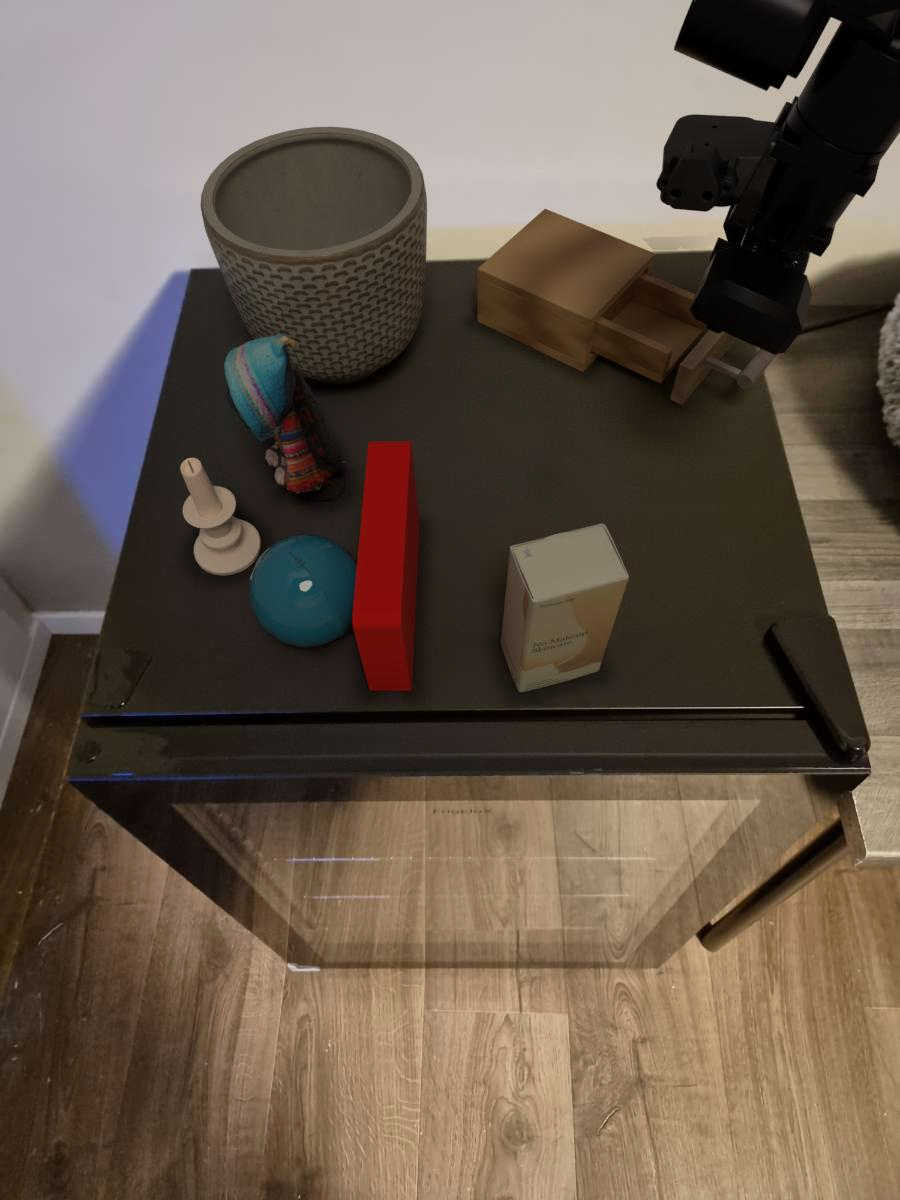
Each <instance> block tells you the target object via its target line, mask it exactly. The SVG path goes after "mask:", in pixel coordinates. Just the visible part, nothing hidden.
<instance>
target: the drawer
mask: <svg viewBox="0 0 900 1200" xmlns="http://www.w3.org/2000/svg"><path fill="white" fill-rule="evenodd" d="M695 294H696V293H693V292H691V291H688V290H686V289H683V288H681V287H678V286H676V285H673V284H672V283H669V282H666V281H664V280H662V279H660V278H657V277H654V276H652V275H648V274H645V273H642V274H641V275H640V276H639V277H638V278H637V279H636V280H635V281H634V282H633V283H632V284H631V285H630V286H629V287H628V288H627V289H626V290H625V291H624V293H623V294H622V295H621V296H620V297H619V298H618V299H617V300H616V301H615V302H614V303H613V304H612V305H611V306H610V307H609V308H608V309H607V310H606V311H605V312H604V313H603V314H602V315H601V316H600V317H599V318H598V319H597V320H596V322H595V325H594V331H593V338H592V344H591V351H592V352H594V353H596V354H598V355H599V356H601V357H603V358H605V359H607V360H609V361H611V362H613V363H615V364H617V365H620V366H621V367H624V368H626V369H628V370H631V371H633V372H634V373H637V374H639V375H640V376H643V377H645V378H648V379H649V380H652V381H654V382H655V383H658V384H663V382H664V381H665V379H666V378H667V377H669V375H670V373H672V372H673V370H674V369H675V368H676V367H677V365H679V366H678V369H677V371H676V372H677V373H676V376H675V380H674V383H673V386H672V391H671V394H670V397H669V400H671V401H673V402H675V403H677V404H679V405H684V403H685V402H686V401H687V400H688V398H689V397H690V396H691V395H692V394H693V392H694V391H695V390H696V389H697V388H698V386H700V384H701V383H702V382H703V380H705V378H706V377H707V376H708V375H709V373H710V372H711V371H712V370H714V371H716V372H719V373H721V374H723V375H726V376H727V377H730V378H732V379H734V380H736V384H737V386H738V387H739V388H741V389H743V390H750V389H752V387H753V386H754V385H755V383H756V382H757V381H758V380H759V379H760V377H761V376H762V375H763V373H764V372H765V371H766V370H767V368H768V367H769V366H770V364H771V363H772V362H773V360H774V359H775V358H776V357H777V355H778V354H776V355H774V354H772V353H769V352H767V351H765V350H763V349H760V348H758V350H757V352H756V353H754V356H753V357H752V358H751V359H750V361H748V363H747V364H746V366H745V367H744V368H743V369H739V368H737V367H735V366H732V365H730V364H728V363H726V362H724V361H722V360H720V359H721V358H722V357H723V356H725V354H726V352H728V350H729V349H730V347H731V346H732V345H733V344H734V343H735V340H736V339H737V338H736V337H734V336H732V335H729V334H727V333H725V332H721V333H715V332H713V331H711V330H709V329H708V330H707V327H706V325H707V324H705V323H703V322H701V321H698V320H696V319H695V317H694V316H693V314H692V313H691V311H690V307H691V304H692V302H693V299H694V297H695ZM706 331H707V332H706ZM739 340H741V339H739ZM741 341H742V342H744V341H743V340H741ZM689 351H690V352H689ZM688 352H689V353H688ZM684 357H685V358H684Z"/></svg>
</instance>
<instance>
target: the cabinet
mask: <svg viewBox="0 0 900 1200" xmlns="http://www.w3.org/2000/svg"><path fill="white" fill-rule="evenodd" d="M655 255H656V253H655V252H652V251H650V250H648V249H645V248H643V247H640V246H637V245H635V244H633V243H631V242H628V241H626V240H624V239H622V238H621V239H620V238H618V237H615V236H613V235H611V234H608V233H606V232H604V231H601V230H599V229H596V228H594V227H591V226H589V225H587V224H584V223H582V222H580V221H577V220H574V219H572V218H570V217H567V216H565V215H562V214H560V213H557V212H554V211H553V210H549V209H547V208H544V209H542V210H541V211H540V212H539V213H538V214H537V215H536V216H535V217H534V218H532V219H531V220H530V221H529V222H527V224H526V225H525V226H523V227H522V228H521V229H520V230H519V231H518V232H517V233H516V234H515V235H513V236H512V237H511V238H510V239H509V240H508V241H506V243H504V244H503V246H501V247H500V248H499V249H498V250H497V251H495V253H493V254H491V256H490V257H488V258H487V259H486V261H484V262H483V263H481V265H480V266H478V267H477V277H476V281H477V283H476V284H477V285H476V286H477V289H476V290H477V291H476V292H477V293H476V299H477V300H476V302H477V304H476V305H477V306H476V307H477V310H476V312H477V315H476V317H477V319H476V320H477V323H479V324H482V325H484V326H486V327H488V328H490V329H492V330H494V331H496V332H498V333H500V334H503V335H504V336H507V337H509V338H511V339H513V340H515V341H517V342H519V343H522V344H523V345H525V346H526V347H527V346H528V347H530V348H531V349H533V350H536V351H538V352H539V353H541V354H545V355H546V356H548V357H550V358H553V359H555V360H557V361H558V362H561V363H562V364H565V365H567V366H569V367H571V368H573V369H575V370H577V371H579V372H581V373H584V372H585V371H586V370H587V369H588V368H589V366H590V365H591V364H592V363H593V362H594V361H595V360H596V359H597V358H598V357H599V356H600V355H598V354H596V353H594V352H592V351H591V344H592V338H593V331H594V325H595V322H596V320H597V319H598V318H599V317H600V316H601V315H602V314H603V313H604V312H605V311H606V310H607V309H608V308H609V307H610V306H611V305H612V304H613V303H614V302H615V301H616V300H617V299H618V298H619V297H620V296H621V295H622V294H623V293H624V291H625V290H626V289H627V288H628V287H629V286H630V285H631V284H632V283H633V282H634V281H635V280H636V279H637V278H638V277H639V276H640V275H641V274H642V273H645V274H648V275H650V276H652V270H653V264H654V260H655Z"/></svg>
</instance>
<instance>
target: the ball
mask: <svg viewBox="0 0 900 1200" xmlns="http://www.w3.org/2000/svg"><path fill="white" fill-rule="evenodd" d="M356 572H357V562H356V560H355V559H354V557H353V556H352V554H351V553H350V552H349V550H348V549H347V548H346V547H344V546H343V545H341V544H339V543H338V542H336V541H335V540H333V539H331V538H329V537H327V536H323V535H320V534H319V535H318V534H313V533H301V534H294V535H289V536H286V537H285V538H283V539H280V540H278V541H276V542H274V543H272V544H271V545H269V547H268V548H267V549H266V550H265V551H264V552H263V553H262V554H261V555H259V556H258V558H257V561H256V563H255V565H254V567H253V570H252V572H251V574H250V576H249V583H248V586H249V588H248V590H249V591H248V592H249V604H250V608H251V610H252V612H253V614H254V616H255V618H256V619H257V621H258V623H259V624H260V626H261V628H262V629H263V630H264V631H265V632H266V633H268V634H269V635H271V636H272V637H274V638H275V639H277V640H278V641H280V642H281V643H283V644H285V645H289V646H295V647H299V648H304V649H305V648H306V649H307V648H313V647H321V646H326V645H327V644H329V643H331V642H333V641H335V640H337V639H338V638H340V637H343V636H344V635H345V633H346V632H347V631H348V630H349V629H350V628H351V626H353V605H354V594H355V583H356Z"/></svg>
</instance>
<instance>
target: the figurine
mask: <svg viewBox="0 0 900 1200" xmlns="http://www.w3.org/2000/svg"><path fill="white" fill-rule="evenodd" d="M288 347H297V346H296V343H295V340H292V339H290V338H288V337H286V336H285V335H282V334H277V335H275V336H271V337H261V338H258V339H255V340H253V339H252V340H249V341H247V342H245V343H242V344H241V345H239V346H235V347H234V348H232V349H231V350H230V351H229V352H228V353H227V355H226V357H225V360H224V362H223V368H224V369H223V370H224V375H225V379H226V386H227V392H226V394H224V395H225V397H226V399H227V401H228V404H229V408H231V409H233V410H234V412H235V413H236V414H237V417H238V418H239V419H240V421H241V422H242V424H243V425H244V427H245V429H248V430H249V429H250V430H251V433H252V434H253V435H254V436H255V438H256V439H257V440H258V441H259V442H263V441H265V440H267V439H270V438H273V439H274V440H275V441H274V444H273V445H272V446H270V447H268V448H267V450H266V451H265V457H264V458H265V460H266V462H267V464H268V467H270V468H273V469H275V472H274V480H275V482H276V484H277V486H278V487H280V488H282V489H286V490H287V491H288V492H290V493H296V494H297V495H298V494H301V497H303V498H308V497H310V498H311V499H313V500H315V501H319V502H328V501H336V500H339V499H341V498H342V496H343V495H344V494H345V476H344V475H345V473H346V472H345V469H344V467H343V463H345V461H342V460H341V458H340V456H339V453H338V450H337V448H336V447H335V445H334V444H335V443H334V440H333V439H332V436H331V433H330V431H329V427H328V423H327V420H326V418H325V415H324V413H323V411H322V409H321V407H320V404H319V402H318V401H317V399H316V397H315V394H314V393H313V390H312V388H311V387H310V385H309V384H308V383H307V381H306V379H305V377H303V375H302V373H301V371H300V369H299V368H298V367H297V366H294V368H293V369H292V366H291V362H290V358H289V354H288V352H287V348H288Z"/></svg>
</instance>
